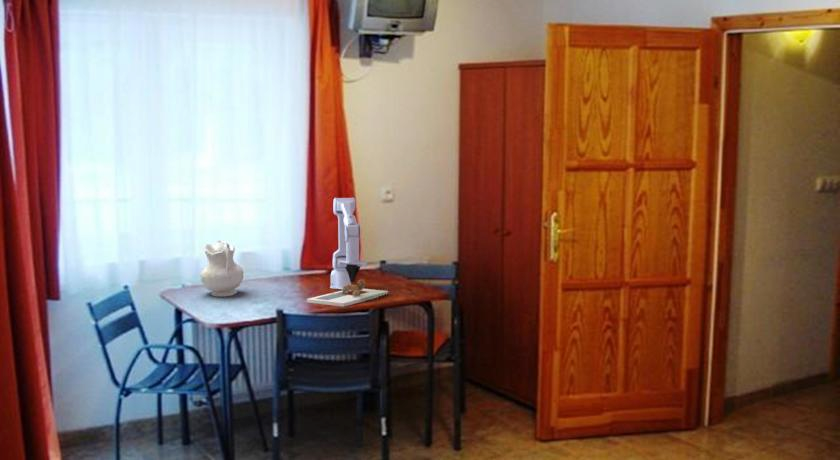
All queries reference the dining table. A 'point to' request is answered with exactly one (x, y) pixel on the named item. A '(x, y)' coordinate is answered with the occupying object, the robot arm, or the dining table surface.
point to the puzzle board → (340, 298)
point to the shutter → (368, 294)
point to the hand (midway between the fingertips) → (352, 281)
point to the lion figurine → (354, 287)
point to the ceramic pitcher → (221, 270)
